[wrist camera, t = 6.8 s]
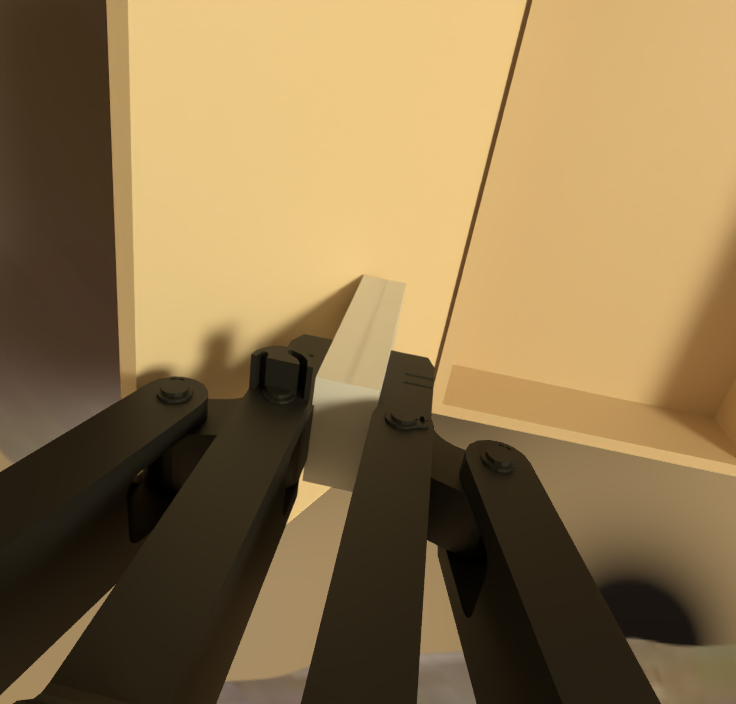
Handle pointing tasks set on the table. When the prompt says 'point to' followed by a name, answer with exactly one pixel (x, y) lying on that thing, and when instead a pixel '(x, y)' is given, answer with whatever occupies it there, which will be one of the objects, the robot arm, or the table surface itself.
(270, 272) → the lid
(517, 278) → the box
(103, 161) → the table surface
